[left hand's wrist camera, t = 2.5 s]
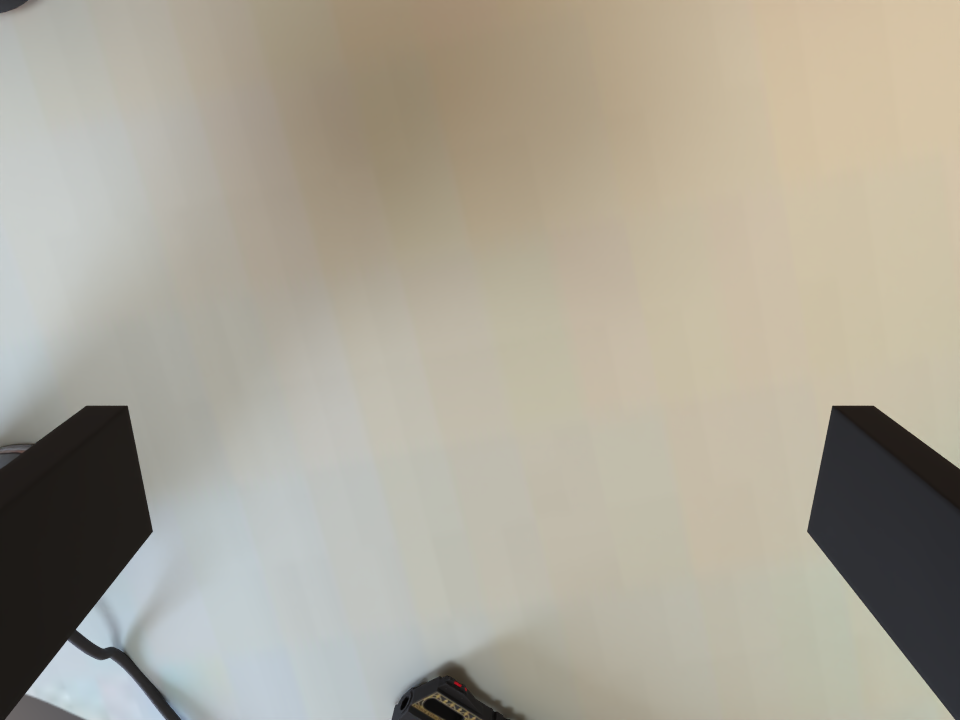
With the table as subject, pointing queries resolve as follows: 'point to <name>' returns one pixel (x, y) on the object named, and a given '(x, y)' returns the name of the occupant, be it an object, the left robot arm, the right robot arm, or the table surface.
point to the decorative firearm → (442, 703)
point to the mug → (10, 4)
